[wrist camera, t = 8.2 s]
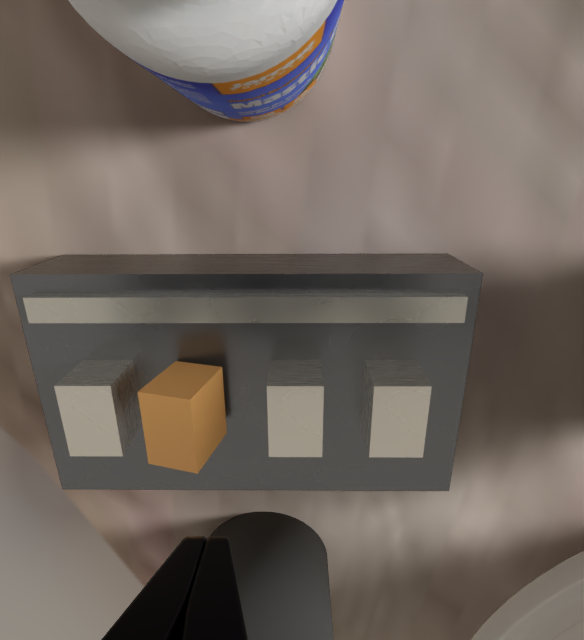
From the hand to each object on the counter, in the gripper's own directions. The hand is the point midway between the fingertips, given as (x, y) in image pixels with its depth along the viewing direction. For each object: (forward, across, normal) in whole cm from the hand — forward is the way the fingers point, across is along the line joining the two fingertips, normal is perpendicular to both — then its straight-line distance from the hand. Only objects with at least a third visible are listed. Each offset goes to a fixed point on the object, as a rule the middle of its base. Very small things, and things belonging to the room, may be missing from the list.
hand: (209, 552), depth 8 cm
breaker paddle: (+6, +1, 0) cm, 6 cm away
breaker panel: (+9, 0, 0) cm, 9 cm away
